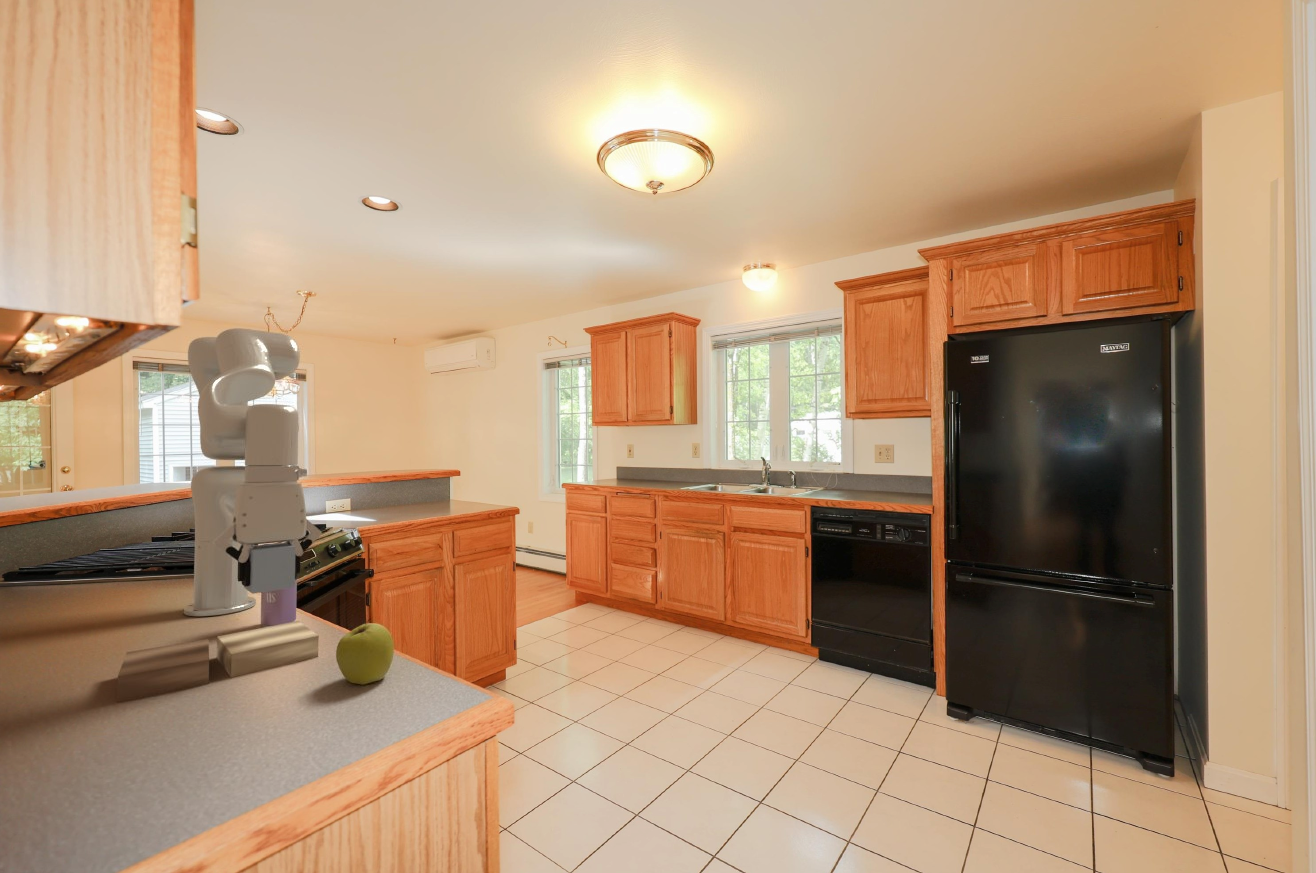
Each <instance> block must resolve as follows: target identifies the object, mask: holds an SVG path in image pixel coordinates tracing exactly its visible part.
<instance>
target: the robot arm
mask: <svg viewBox="0 0 1316 873" xmlns="http://www.w3.org/2000/svg"><path fill="white" fill-rule="evenodd" d="M187 348H188V349H187V361H188V362H187V363H188V368H189V371H190V375H191V377H192V380H193V382H194V384H195V387H196V389H197V391H198V395H199V398H198V401H197V402H198V403H197V415H198V419H199V433H200V434H199V440H200V441H199V442H200V450H201V452H202V454H203V456H204V457H205V458H208V459H211V460H216V461H244V466H243V465H228V466H227V465H221V466H210V467H206V468H203V469H200V470H198V471H197V472H195V473H194V475H193V476H192V478H191V481H190V492H191V493H190V494H191V498H192V503H193V504H192V505H193V511H194V512H193V513H194V561H193V562H194V566H193V568H194V569H193V601H192V602H193V603H190V604H188V605H186V606H185V607H184V608H183V614H184V615H185V616H187V617H188V616H189V617H209V616H210V617H212V616H213V617H214V616H220V615H221V616H222V615H228V614H231V613H232V614H233V613H237V612H242V611H244V610H248V609H250V608H252V607H254V606H255V605H256V604H257V603H256V602H257V599H256V598H255V597H252V596H248V594H249V591H248V590H247V589H245V588H244V586H245V587H247V586H249V585H250V571H251V563H250V562H249V558H248V557H249V555H250V553H251V549H253V546H256V545H266V544H276V543H287V544H291V545H294V546H296V547H295V580H296V579H297V580H298V574H300V573H301V557H302V555H304V552H306V551H307V550H308V549H309V548H310V547H311V546H312V544H313V543H314V542H316V540H318V538H320V537H321V536H322V534H323V532H322V531H321V530H320V529H319V528H318V527H317V526H316V525H314V524H313V523H312V522H310V520H308V519H307V511H306V509H307V508H306V501H305V495H304V494H305V493H304V488H303V485H302V483H300V482H298V481H300V480H299V479H300V478H302V477H307V475H308V470H307V469H306V468H300V466H299V432H300V431H299V429H300V427H299V426H300V425H299V424H300V423H299V412H298V410H297V409H296V407H294V406H290V405H287V404H277V403H276V404H275V403H258V404H257V403H256V404H252V405H249V402H251V401H254V400H257V399H260V398H263V397H265V396H266V395H268V394H270V392H271V391H272V390H273V389H274V386H275V384H276V381H280V380H283V379H284V378H287V377H288V376H290V375H292V374H293V373H294V372H296V370H297V369H298V367H299V364H300V359H301V353H300V352H301V351H300V349H299V345H298V343H297V342H296V340H295V339H294V338H293V337H291V336H290V335H288V334H285V333H281V332H280V333H279V332H273V331H263V330H256V329H249V328H237V327H235V328H227V329H225V330H223V331H221V332H220V333H219V334H218V335H217V336H203V337H198V338H195V339H193V340H191V342H190V343H189V344H188V347H187ZM307 532H308V535H307V536H306V534H307ZM305 536H306V537H305ZM304 537H305V538H304ZM299 540H301V541H300V542H299Z"/></svg>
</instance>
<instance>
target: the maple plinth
mask: <svg viewBox="0 0 1316 873" xmlns="http://www.w3.org/2000/svg"><path fill="white" fill-rule="evenodd" d="M319 638H320V637H319V635H318V634H317V633H315V632H314V631H313V630H311V629H310V628H309V627H308V626H306V625H304V624H303V623H302V622H301V621H299V620H295V621H294V622H290V623H285V624H280V625H274V626H269V627H259V628H253V629H250V630H244V631H238V632H233V633H227V634H224V635H217V638H216V639H217V640H216V641H217V642H216V658H217V660H218V661H219V662H220V664H221V665H222V667H223V668H224V670H225V671H226V673H227V674H228V675H229V677H230V678H234V677H239V676H243V675H248V674H252V673H255V672H260V671H263V670H268V669H269V670H270V669H272V668H276V667H282V666H286V665H289V664H294V663H299V662H303V661H307V660H311V659H315V658H316V659H317V658H319V640H320V639H319Z"/></svg>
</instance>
